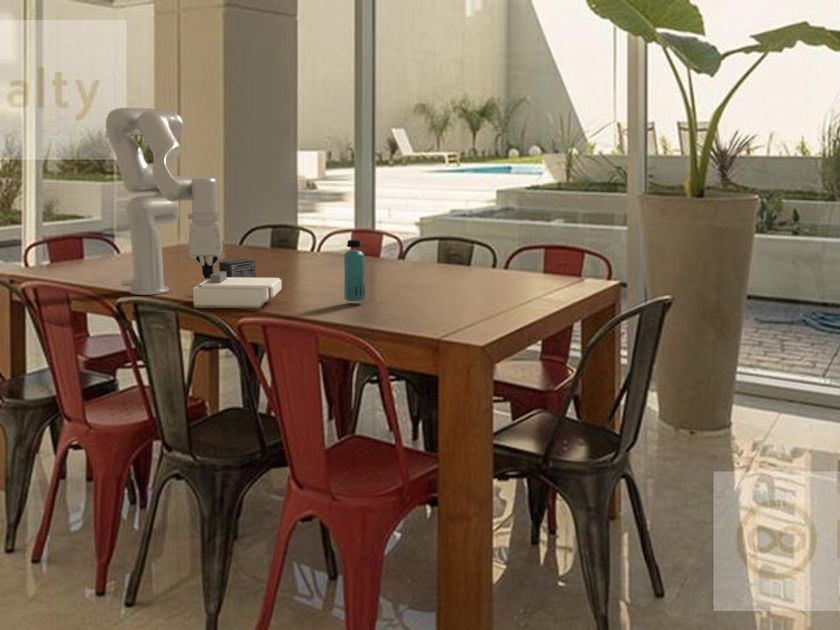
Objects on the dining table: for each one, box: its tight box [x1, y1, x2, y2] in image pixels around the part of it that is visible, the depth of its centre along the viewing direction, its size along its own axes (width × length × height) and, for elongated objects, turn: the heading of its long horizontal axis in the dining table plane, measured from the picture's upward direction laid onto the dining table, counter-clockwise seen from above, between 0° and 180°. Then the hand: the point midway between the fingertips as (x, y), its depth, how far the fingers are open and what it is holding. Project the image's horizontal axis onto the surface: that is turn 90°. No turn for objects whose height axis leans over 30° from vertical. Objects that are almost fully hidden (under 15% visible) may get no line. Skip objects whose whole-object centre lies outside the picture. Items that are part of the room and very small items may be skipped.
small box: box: [218, 258, 256, 278], centre depth 297 cm, size 11×6×10 cm, turn 141°
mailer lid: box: [201, 270, 282, 298], centre depth 275 cm, size 22×15×6 cm
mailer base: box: [192, 280, 269, 309], centre depth 275 cm, size 20×14×6 cm
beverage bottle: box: [343, 239, 366, 302], centre depth 274 cm, size 6×7×20 cm
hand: (208, 277), depth 274 cm, fingers closed
